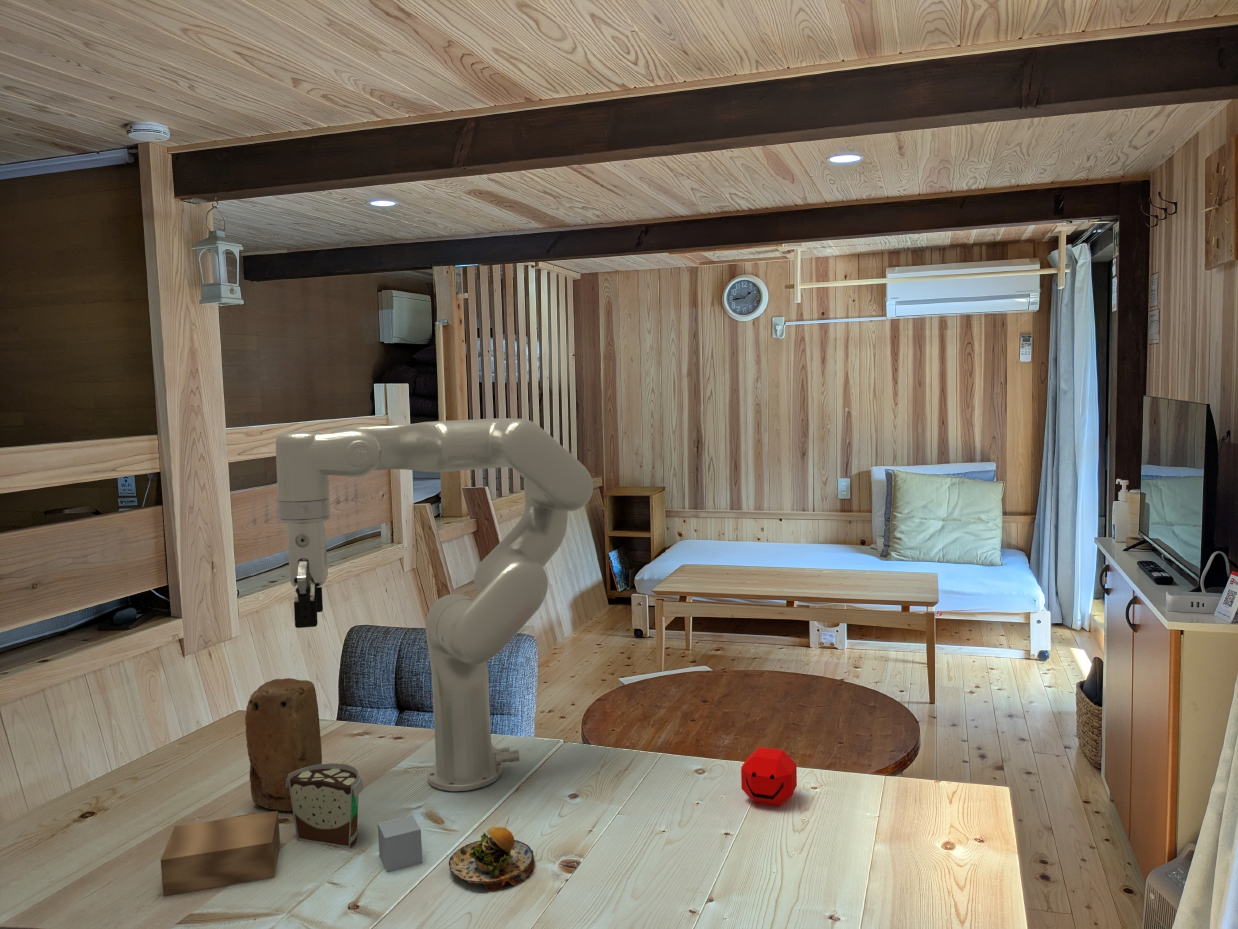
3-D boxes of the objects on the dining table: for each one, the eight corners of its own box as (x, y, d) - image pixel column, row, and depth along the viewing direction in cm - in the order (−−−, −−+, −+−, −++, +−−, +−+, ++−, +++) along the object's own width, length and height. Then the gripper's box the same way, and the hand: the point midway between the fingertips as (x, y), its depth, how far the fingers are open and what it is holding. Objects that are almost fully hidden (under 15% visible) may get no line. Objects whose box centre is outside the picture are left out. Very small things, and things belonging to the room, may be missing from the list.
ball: (738, 807, 142) (737, 760, 141) (750, 786, 149) (749, 740, 149) (789, 814, 139) (788, 766, 138) (799, 792, 146) (798, 746, 146)
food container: (382, 830, 138) (379, 766, 138) (358, 849, 133) (354, 783, 132) (315, 820, 142) (311, 758, 142) (288, 838, 137) (284, 774, 136)
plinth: (280, 843, 135) (277, 810, 135) (274, 877, 126) (272, 842, 125) (177, 859, 131) (174, 826, 131) (163, 896, 122) (160, 860, 121)
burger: (458, 849, 132) (456, 800, 132) (539, 848, 132) (537, 798, 131) (440, 895, 120) (437, 841, 120) (528, 894, 120) (526, 840, 119)
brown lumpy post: (328, 795, 151) (321, 677, 149) (303, 816, 144) (295, 692, 142) (270, 790, 153) (262, 675, 152) (243, 811, 146) (234, 690, 145)
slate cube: (414, 848, 133) (412, 815, 132) (422, 863, 128) (420, 829, 128) (379, 856, 131) (377, 823, 130) (386, 872, 126) (384, 838, 126)
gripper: (325, 516, 134) (330, 631, 135) (333, 503, 151) (338, 605, 152) (271, 519, 132) (277, 635, 133) (285, 505, 149) (290, 608, 150)
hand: (309, 619), depth 143 cm, fingers open, 9 cm apart
